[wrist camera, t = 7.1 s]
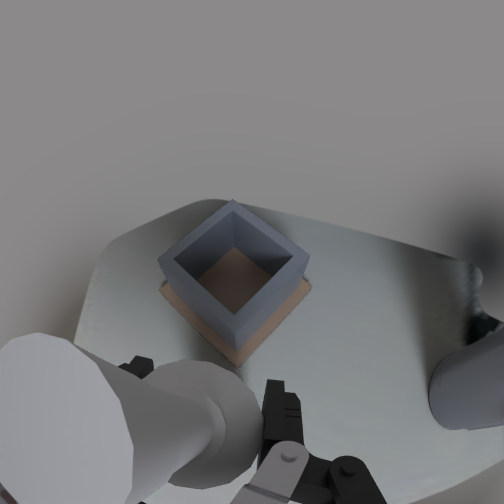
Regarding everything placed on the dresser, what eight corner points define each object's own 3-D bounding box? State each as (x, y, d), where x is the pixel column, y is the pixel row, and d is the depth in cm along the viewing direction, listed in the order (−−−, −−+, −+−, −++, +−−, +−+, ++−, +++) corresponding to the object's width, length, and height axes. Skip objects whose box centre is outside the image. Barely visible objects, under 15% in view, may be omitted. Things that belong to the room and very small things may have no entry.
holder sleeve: (310, 290, 30) (326, 254, 24) (237, 368, 25) (235, 352, 20) (234, 231, 34) (232, 188, 28) (161, 294, 29) (141, 259, 23)
